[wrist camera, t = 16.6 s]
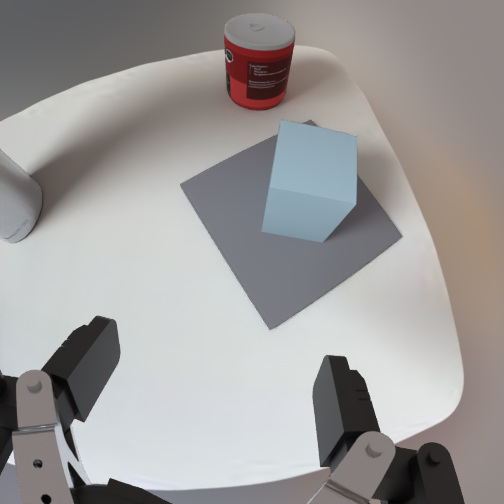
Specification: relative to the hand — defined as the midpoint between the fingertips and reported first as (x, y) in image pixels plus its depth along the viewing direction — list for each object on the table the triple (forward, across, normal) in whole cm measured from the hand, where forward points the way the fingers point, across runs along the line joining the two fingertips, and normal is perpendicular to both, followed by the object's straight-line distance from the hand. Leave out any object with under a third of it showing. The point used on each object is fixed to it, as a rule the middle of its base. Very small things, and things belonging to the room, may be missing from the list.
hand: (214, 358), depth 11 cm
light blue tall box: (+23, -5, -1) cm, 23 cm away
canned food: (+33, +2, -14) cm, 36 cm away
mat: (+23, -4, -1) cm, 24 cm away
